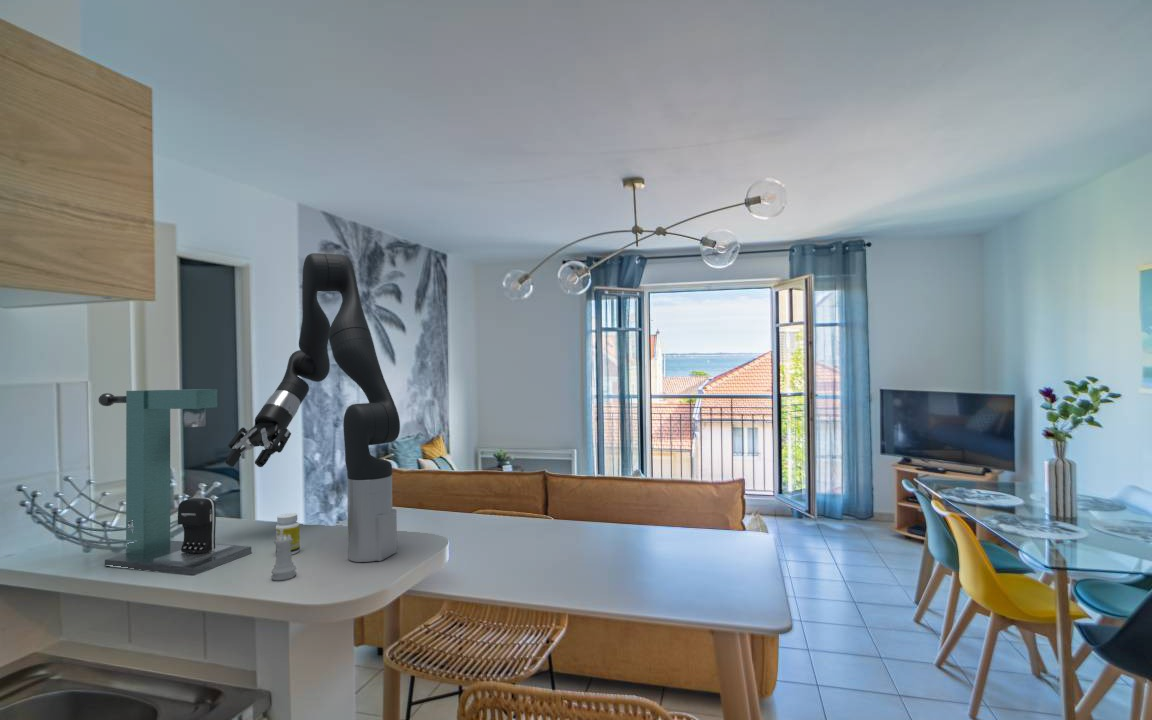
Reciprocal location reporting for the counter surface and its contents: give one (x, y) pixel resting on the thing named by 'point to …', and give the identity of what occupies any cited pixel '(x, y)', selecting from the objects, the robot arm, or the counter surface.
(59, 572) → the counter surface
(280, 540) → the rook chess piece
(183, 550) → the battery
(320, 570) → the counter surface
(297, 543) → the supplement bottle
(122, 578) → the counter surface
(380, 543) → the robot arm
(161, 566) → the arbor press
